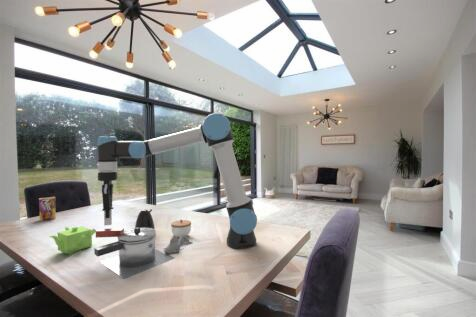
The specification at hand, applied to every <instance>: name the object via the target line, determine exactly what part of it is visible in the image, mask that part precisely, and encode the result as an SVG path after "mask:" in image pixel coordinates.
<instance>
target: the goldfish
mask: <svg viewBox="0 0 476 317" xmlns="http://www.w3.org/2000/svg"><path fill="white" fill-rule="evenodd" d="M190 244H191V245H192V244H194V243H193V242H192V241H190V239H189V238H188V236H187V237H186V236H185V237H179V238H178V237H175V236H173V237H172V238H171V239H170V240H169V244H168V245H167V246H166V247H163V250H164V253H165V254H167V255H170V254H175V253H180V251H182V250H184V248H181V247H182V246H188V245H190Z"/></svg>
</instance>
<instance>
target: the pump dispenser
mask: <svg viewBox="0 0 476 317" xmlns="http://www.w3.org/2000/svg"><path fill="white" fill-rule="evenodd" d="M152 212H153V209H151V208H150V209H149V210H148V209H141V210H140V212H139V213H138V215H137V218H136V222H135V224H134V228H137V227H140V228H152V229H155V230H156V228H155V223H154V219H153V216H152Z"/></svg>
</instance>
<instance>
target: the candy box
mask: <svg viewBox="0 0 476 317" xmlns="http://www.w3.org/2000/svg"><path fill="white" fill-rule="evenodd" d="M38 208H39V211H38V212H39V222H42V221H48V220H49V221H50V220H55V219H56V214H57V213H56V196H51V197H50V196H49V197H40V198H38Z"/></svg>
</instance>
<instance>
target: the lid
mask: <svg viewBox="0 0 476 317" xmlns="http://www.w3.org/2000/svg"><path fill="white" fill-rule="evenodd" d="M156 232H157V231H156V228H155V229H152V228H140V227H137V228H135V227H134V228H130V229H126V230H125V229H124V227H120V228H118V227H117V228H99V229H97V230H96V232H95V238H96V239H97V238H117V241H118V240H119V241H122V242H139V241H144V240H147V239H150V238H152V237H154V236H155V235H156V234H157V233H156ZM155 237H156V236H155Z"/></svg>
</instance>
